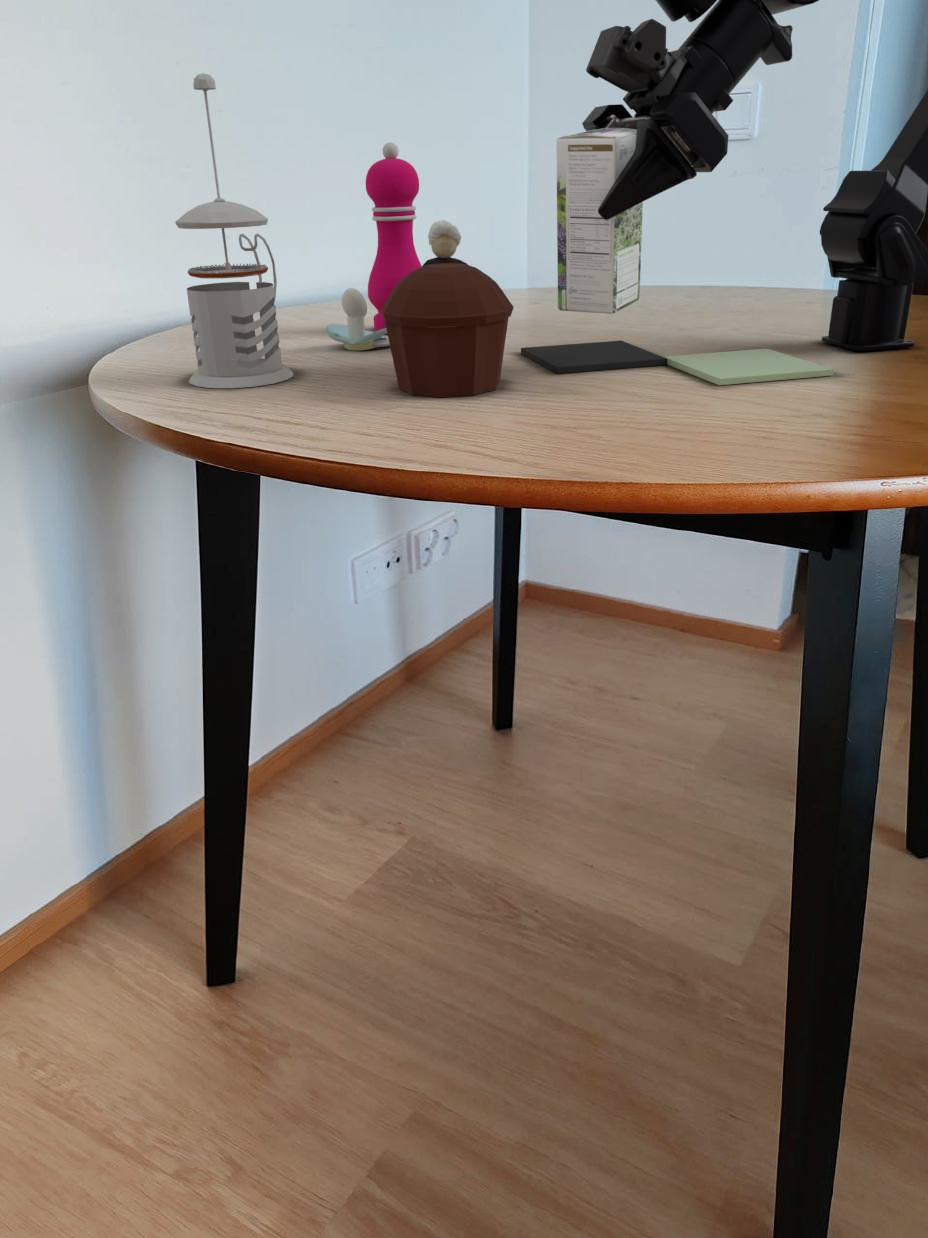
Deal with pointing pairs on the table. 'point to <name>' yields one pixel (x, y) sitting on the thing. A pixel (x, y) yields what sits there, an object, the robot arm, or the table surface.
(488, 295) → the muffin
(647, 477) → the table surface
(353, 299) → the pacifier
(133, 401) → the table surface
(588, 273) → the syrup box
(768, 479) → the table surface
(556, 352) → the charcoal mat
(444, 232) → the grandmother figurine
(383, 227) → the pepper mill
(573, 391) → the table surface
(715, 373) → the sage mat
